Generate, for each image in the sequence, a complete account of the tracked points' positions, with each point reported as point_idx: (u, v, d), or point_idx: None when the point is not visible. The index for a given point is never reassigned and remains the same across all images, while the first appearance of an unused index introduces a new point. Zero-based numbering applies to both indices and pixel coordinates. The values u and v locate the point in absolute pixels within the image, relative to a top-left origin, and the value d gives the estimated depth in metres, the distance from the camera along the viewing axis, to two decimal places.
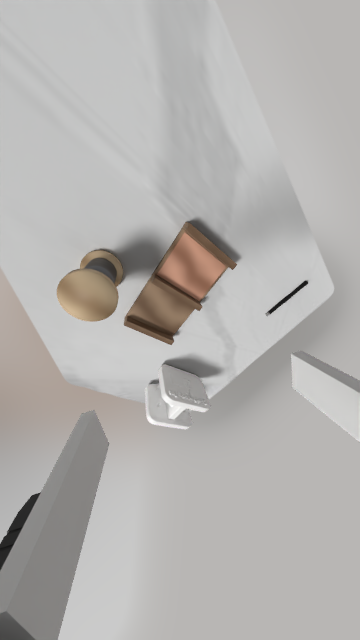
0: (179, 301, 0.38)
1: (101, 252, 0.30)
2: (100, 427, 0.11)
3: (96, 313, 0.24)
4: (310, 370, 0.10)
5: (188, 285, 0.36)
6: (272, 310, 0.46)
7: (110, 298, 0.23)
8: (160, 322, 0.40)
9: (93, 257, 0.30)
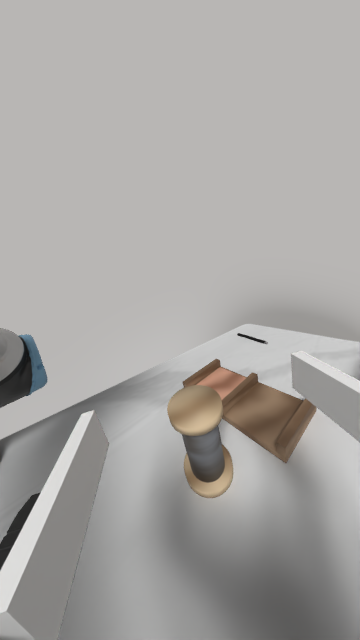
0: (251, 394, 0.36)
1: (187, 454, 0.27)
2: (100, 427, 0.11)
3: (211, 402, 0.22)
4: (310, 370, 0.10)
5: (233, 387, 0.39)
6: (261, 341, 0.57)
7: (198, 389, 0.25)
8: (284, 413, 0.30)
9: (189, 465, 0.26)
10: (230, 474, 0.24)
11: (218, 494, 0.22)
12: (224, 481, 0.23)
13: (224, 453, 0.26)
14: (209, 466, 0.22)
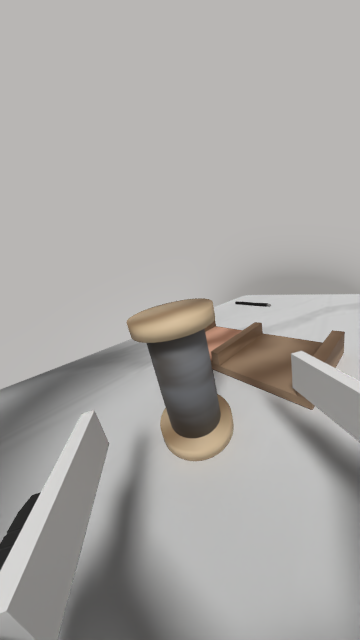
0: (255, 344, 0.28)
1: (166, 408, 0.19)
2: (100, 427, 0.11)
3: (197, 304, 0.14)
4: (310, 370, 0.10)
5: None
6: (263, 304, 0.49)
7: (179, 302, 0.17)
8: None
9: (168, 420, 0.17)
10: (229, 426, 0.15)
11: (210, 454, 0.14)
12: (220, 435, 0.15)
13: (220, 402, 0.18)
14: (196, 409, 0.14)
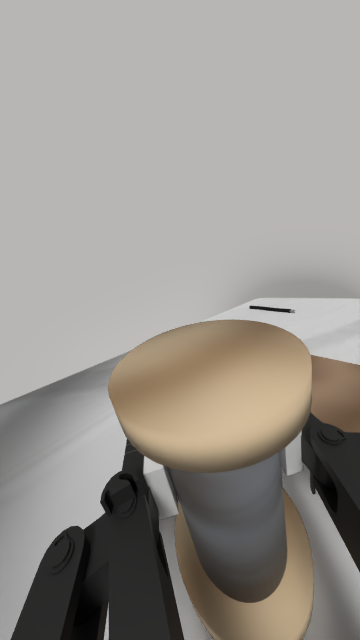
0: None
1: None
2: None
3: (261, 342, 0.06)
4: None
5: None
6: (285, 310, 0.42)
7: (210, 326, 0.09)
8: None
9: (188, 530, 0.10)
10: (311, 570, 0.08)
11: None
12: (301, 601, 0.07)
13: None
14: (256, 561, 0.07)
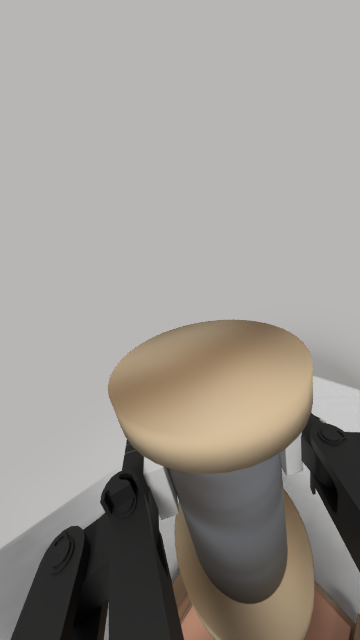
0: None
1: None
2: None
3: (261, 341, 0.06)
4: None
5: None
6: None
7: (211, 326, 0.09)
8: None
9: (188, 530, 0.10)
10: (311, 571, 0.08)
11: None
12: (302, 602, 0.07)
13: None
14: (257, 562, 0.07)
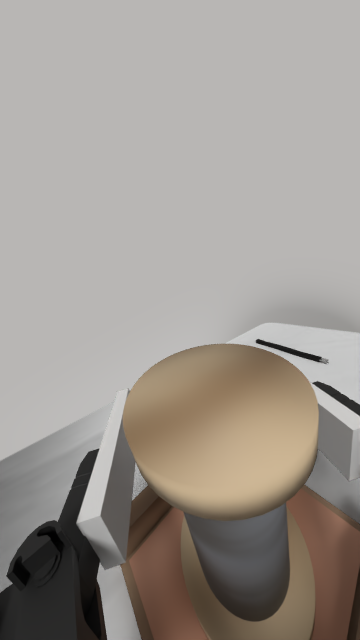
0: None
1: None
2: None
3: (268, 376, 0.07)
4: None
5: None
6: (312, 356, 0.27)
7: (217, 351, 0.09)
8: None
9: (194, 546, 0.10)
10: (313, 589, 0.08)
11: None
12: (303, 621, 0.08)
13: None
14: (262, 584, 0.07)
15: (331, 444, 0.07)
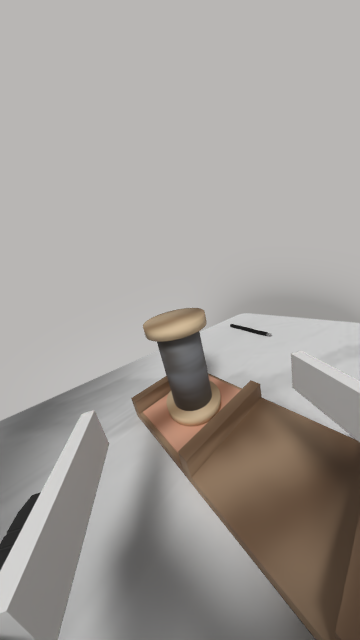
0: (250, 424, 0.19)
1: (170, 392, 0.24)
2: (100, 427, 0.11)
3: (193, 313, 0.19)
4: (310, 370, 0.10)
5: None
6: (262, 332, 0.40)
7: (180, 310, 0.22)
8: (326, 478, 0.13)
9: (172, 399, 0.23)
10: (217, 402, 0.21)
11: (203, 421, 0.20)
12: (211, 408, 0.20)
13: (211, 387, 0.23)
14: (193, 388, 0.19)
15: None
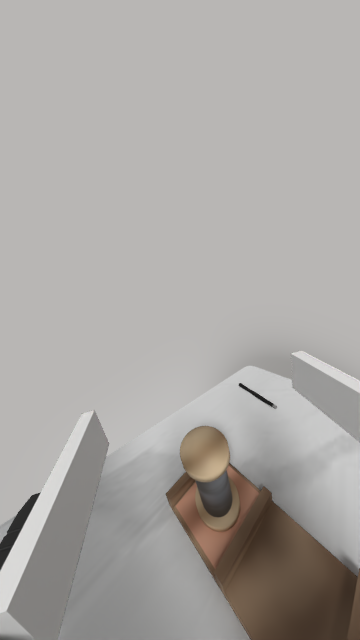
0: (265, 534, 0.24)
1: (197, 488, 0.30)
2: (100, 427, 0.11)
3: (219, 446, 0.25)
4: (310, 370, 0.10)
5: None
6: (269, 402, 0.45)
7: (206, 431, 0.27)
8: (323, 606, 0.19)
9: (200, 500, 0.28)
10: (238, 508, 0.26)
11: (228, 528, 0.25)
12: (233, 515, 0.26)
13: (231, 486, 0.29)
14: (220, 503, 0.25)
15: None
